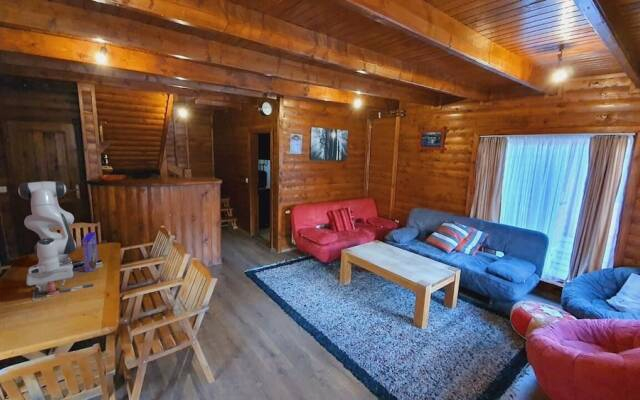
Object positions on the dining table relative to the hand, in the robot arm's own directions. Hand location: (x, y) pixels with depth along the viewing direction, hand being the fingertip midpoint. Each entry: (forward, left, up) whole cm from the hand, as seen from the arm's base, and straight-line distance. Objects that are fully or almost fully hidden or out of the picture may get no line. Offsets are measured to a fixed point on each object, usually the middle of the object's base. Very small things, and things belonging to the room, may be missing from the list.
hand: (52, 287), depth 171 cm
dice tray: (-8, -4, -4) cm, 10 cm away
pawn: (0, 0, -4) cm, 4 cm away
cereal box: (-34, +20, -4) cm, 40 cm away
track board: (0, +5, -4) cm, 7 cm away
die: (-8, -4, -4) cm, 10 cm away
